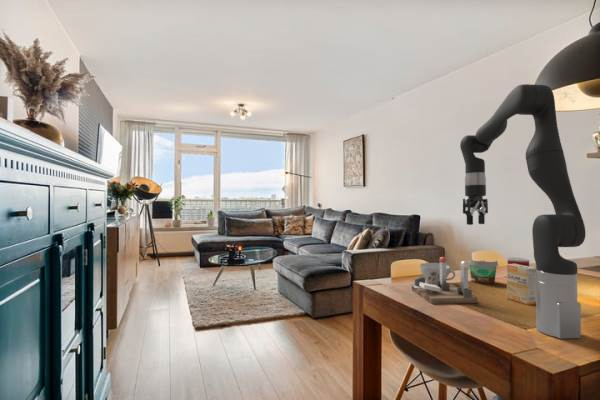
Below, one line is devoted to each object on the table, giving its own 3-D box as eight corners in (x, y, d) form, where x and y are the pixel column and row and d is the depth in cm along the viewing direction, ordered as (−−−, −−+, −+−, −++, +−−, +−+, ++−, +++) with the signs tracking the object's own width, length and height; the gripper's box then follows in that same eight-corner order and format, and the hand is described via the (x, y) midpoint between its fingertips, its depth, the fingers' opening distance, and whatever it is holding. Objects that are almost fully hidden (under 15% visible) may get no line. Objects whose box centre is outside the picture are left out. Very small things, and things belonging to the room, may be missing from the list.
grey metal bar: (470, 296, 122) (469, 261, 122) (463, 296, 122) (462, 262, 122) (465, 293, 125) (465, 260, 125) (458, 293, 125) (458, 260, 125)
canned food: (532, 286, 143) (532, 260, 142) (511, 285, 144) (511, 260, 144) (524, 282, 150) (524, 257, 150) (504, 281, 152) (504, 257, 152)
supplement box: (506, 298, 125) (505, 264, 125) (515, 297, 127) (514, 263, 127) (527, 305, 118) (527, 268, 118) (537, 303, 119) (537, 267, 119)
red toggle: (448, 289, 131) (447, 257, 131) (441, 289, 131) (441, 257, 131) (444, 287, 134) (444, 256, 134) (438, 287, 134) (437, 256, 134)
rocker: (440, 291, 126) (440, 288, 126) (423, 288, 126) (424, 284, 126) (434, 288, 131) (435, 285, 131) (419, 285, 130) (419, 282, 130)
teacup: (415, 283, 149) (414, 265, 149) (426, 278, 158) (425, 261, 158) (450, 289, 139) (449, 270, 139) (459, 283, 148) (459, 265, 148)
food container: (471, 284, 147) (471, 261, 147) (467, 280, 153) (467, 259, 153) (502, 285, 144) (502, 262, 144) (497, 282, 150) (497, 260, 150)
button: (426, 286, 135) (426, 278, 135) (417, 286, 135) (417, 278, 135) (422, 283, 139) (422, 276, 139) (413, 283, 139) (413, 276, 139)
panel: (477, 302, 121) (477, 290, 121) (430, 303, 120) (430, 291, 120) (451, 288, 140) (450, 277, 140) (410, 289, 140) (410, 278, 140)
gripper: (474, 183, 128) (475, 225, 128) (493, 184, 136) (494, 224, 136) (456, 184, 135) (456, 224, 134) (475, 185, 142) (476, 223, 142)
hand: (475, 224), depth 135 cm, fingers open, 8 cm apart
